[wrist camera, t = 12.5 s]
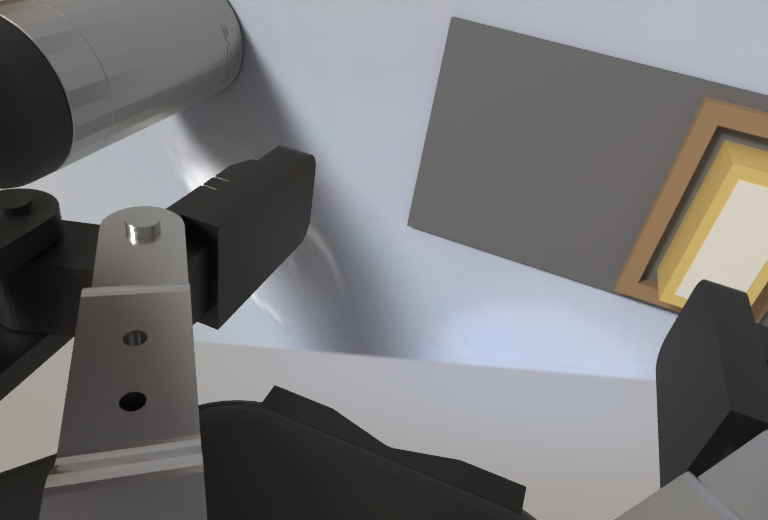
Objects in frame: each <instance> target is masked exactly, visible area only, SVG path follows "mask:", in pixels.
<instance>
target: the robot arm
mask: <svg viewBox="0 0 768 520" xmlns="http://www.w3.org/2000/svg"><path fill="white" fill-rule="evenodd" d="M242 56H243V42H242V35H241V31H240V27H239V23H238V21H237V18H236V16H235V14H234V11H233V10H232V8H231V6H230V5H229V3H228V2H227V0H2V1H0V188H1V189H7V188H15V187H20V186H24V185H26V184H29V183H31V182H34V181H36V180H38V179H40V178H42V177H44V176H46V175H48V174H50V173H52V172H54V171H57V170H59V169H61V168H63V167H65V166H67V165H69V164H71V163H74V162H76V161H78V160H80V159H82V158H84V157H86V156H88V155H90V154H92V153H94V152H96V151H98V150H100V149H102V148H104V147H107V146H109V145H111V144H113V143H115V142H117V141H119V140H121V139H123V138H125V137H127V136H130V135H132V134H134V133H136V132H138V131H140V130H142V129H144V128H146V127H148V126H150V125H153V124H155V123H157V122H159V121H161V120H163V119H165V118H167V117H169V116H171V115H174V114H176V113H178V112H180V111H182V110H184V109H186V108H188V107H190V106H193V105H195V104H197V103H199V102H201V101H203V100H205V99H207V98H209V97H211V96H213V95H215V94H217V93H219V92H221V91H223V90H225V89H226V88H227V87H228V86H230V85H231V84H232V83H233V81H234V80H235V78H236V76H237V75H238V73H239V70H240V67H241V64H242ZM315 167H316V164H315V158H314V156H313V155H310V154H307V153H304V152H301V151H298V150H294V149H291V148H288V147H285V146H278V147H276V148H275V149H273V150H272V151H271V152H269V153H268V154H266V155H265V156H263V157H262V158H261V159H259V160H258V161H256V160H253V159H252V160H248V161H245V162H241V163H238V164H234V165H231V166H229V167H228V168H226V169H225V170H223V171H222V172H220V173H219V174H217V175H216V177H215V178H214V177H213V178H211V179H210V180H208V181H207V182H205V183H204V185H203V186H199V187H198V188H196V189H195V190H193V191H192V192H190V193H189V194H187V195H186V196H184V197H183V198H182V199H180V200H179V201H177V202H176V203H174V204H173V205H171V206H170V207H168V208H167V209H163V208H158V207H151V206H140V207H131V208H126V209H122V210H119V211H116V212H114V213H112V214H110V215H109V216H107V217H106V218H105V219H104V220H103V221H102V223H101V224H100V225H97V224H89V223H81V222H74V221H66V220H62V219H61V214H60V208H59V203H58V201H57V199H56V198H55V197H54V196H52V195H50V194H49V193H46V192H43V191H39V190H34V189H7V190H1V191H0V401H1V400H2V399H3V398H4V397H5V396H6V395H8V393H10V392H11V391H12V390H13V389H14V388H15V387H17V386H18V385H19V384H20V383H21V382H22V381H24V380H25V379H26V378H27V377H28V376H29V375H30V374H32V373H33V372H34V371H35V370H36V369H37V368H38V367H40V366H41V365H42V364H43V363H44V362H45V361H46V360H47V359H49V358H50V357H51V356H52V355H53V354H54V353H56V352H57V351H58V350H59V349H60V348H61V347H62V346H64V345H65V344H66V343H67V342H68V341H69V340H70V339H72V338H73V337H75V338H74V345H73V351H72V358H71V364H70V371H69V378H68V384H67V391H66V398H65V404H64V411H63V418H62V424H61V431H60V437H59V444H58V451H57V453H56V454H54V455H51V456H48V457H45V458H42V459H39V460H36V461H33V462H31V463H28V464H25V465H22V466H19V467H16V468H13V469H10V470H7V471H4V472H2V473H0V520H536V519H535V518H534V517H533V516H532V515H530V514H529V513H527V512H526V511H524V510H523V509H522V507H523V501H524V496H525V491H526V487H525V486H523V485H520V484H518V483H515V482H513V481H510V480H508V479H505V478H503V477H501V476H498V475H496V474H493V473H491V472H488V471H486V470H483V469H481V468H478V467H476V466H473V465H471V464H468V463H466V462H463V461H461V460H456V459H451V458H445V457H439V456H433V455H428V454H423V453H417V452H411V451H406V450H400V449H395V448H391V447H389V446H386V445H385V444H383V443H381V442H380V441H378V440H377V439H376V438H374V437H373V436H371V435H370V434H369V433H367V432H366V431H364V430H363V429H361V428H360V427H358V426H357V425H355V424H354V423H353V422H351V421H350V420H348V419H347V418H345V417H344V416H342V415H341V414H339V413H338V412H337V411H335V410H334V409H332V408H330V407H327V406H325V405H322V404H320V403H317V402H315V401H312V400H310V399H308V398H305V397H302V396H300V395H297V394H295V393H293V392H290V391H288V390H285V389H283V388H280V387H278V386H274V387H273V388H272V390H271V391H270V393H269V394H268V395H267V397H266V398H265V399H264V401H263V402H256V401H243V400H234V401H233V400H232V401H220V402H211V403H206V404H202V405H198V395H197V380H196V366H195V352H194V338H193V325H194V324H195V323H196V322H200V323H202V324H205V325H207V326H210V327H212V328H215V329H217V330H218V329H219V328H220V327H221V326H222V325H223V324H224V323H225V322H226V321H227V320H228V319H229V318H230V317H231V316H232V315H233V314H234V313H235V312H236V310H237V309H238V308H239V307H240V306H241V305H242V304H243V303H244V302H245V301H246V300H247V299H248V298H249V297H250V296H251V295H252V294H253V293H254V292H255V291H256V290H257V289H258V288H259V287H260V285H261V284H262V283H263V282H264V281H265V280H266V279H267V278H268V277H269V276H270V275H271V274H272V273H273V272H274V271H275V270H276V269H277V268H278V267H279V266H280V265H281V264H282V263H283V261H284V260H285V259H286V258H287V257H288V256H289V255H290V254H291V253H292V252H293V251H294V250H295V249H296V248H297V247H298V246H299V245H300V243H301V242H302V240H303V239H304V237H305V235H306V232H307V230H308V226H309V222H310V216H311V206H312V197H313V187H314V177H315ZM656 388H657V413H658V434H659V435H658V437H659V460H660V461H659V463H660V488H661V489H659V490H658V491H657V492H655V493H654V494H652V495H650V496H649V497H648V498H646V499H645V500H643V501H642V502H640V503H639V504H637V505H636V506H634V507H633V508H631V509H630V510H628V511H627V512H625V513H624V514H622V515H621V516H619V517H618V518H616V519H615V520H768V327H767V326H764V325H761V324H758V323H755V319H754V315H753V312H752V308H751V305H750V301H749V297H748V295H747V293H746V292H744V291H740V290H737V289H734V288H731V287H728V286H724V285H721V284H718V283H715V282H712V281H709V280H705V279H703V280H701V281H700V282H699V283H698V284H697V285H696V287H695V288H694V290H693V291H692V293H691V295H690V296H689V298H688V300H687V302H686V303H685V305H684V307H683V309H682V310H681V312H680V314H679V315H678V317H677V319H676V321H675V322H674V324H673V326H672V328H671V329H670V331H669V333H668V335H667V336H666V338H665V340H664V342H663V344H662V346H661V349H660V352H659V355H658V359H657V364H656Z"/></svg>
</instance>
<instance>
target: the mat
mask: <svg viewBox="0 0 768 520" xmlns="http://www.w3.org/2000/svg"><path fill="white" fill-rule="evenodd" d="M725 140H727V141H731V142H734V143H738V144H742V145H746V146H749V147H753V148H757V149H760V150H764V151H768V95H764V94H760V93H756V92H752V91H748V90H744V89H740V88H736V87H732V86H728V85H724V84H720V83H716V82H712V81H708V80H704V79H700V78H696V77H692V76H688V75H684V74H680V73H676V72H672V71H668V70H664V69H660V68H656V67H652V66H648V65H644V64H640V63H636V62H632V61H628V60H624V59H620V58H616V57H612V56H608V55H604V54H600V53H596V52H592V51H588V50H584V49H580V48H576V47H572V46H568V45H564V44H560V43H556V42H552V41H548V40H544V39H540V38H536V37H532V36H528V35H524V34H520V33H516V32H512V31H508V30H504V29H500V28H496V27H492V26H488V25H484V24H480V23H476V22H472V21H468V20H464V19H460V18H456V17H452V18H451V22H450V27H449V31H448V36H447V41H446V45H445V50H444V55H443V59H442V64H441V69H440V74H439V78H438V83H437V88H436V92H435V97H434V102H433V106H432V111H431V116H430V120H429V125H428V130H427V135H426V139H425V144H424V149H423V153H422V158H421V163H420V167H419V172H418V177H417V181H416V186H415V191H414V196H413V200H412V205H411V210H410V214H409V219H408V224H407V225H408V226H411V227H414V228H417V229H420V230H423V231H426V232H429V233H432V234H435V235H438V236H441V237H444V238H447V239H450V240H453V241H456V242H459V243H463V244H466V245H469V246H472V247H475V248H478V249H481V250H484V251H487V252H490V253H493V254H496V255H499V256H502V257H505V258H508V259H511V260H514V261H517V262H520V263H523V264H526V265H530V266H533V267H536V268H539V269H542V270H545V271H548V272H551V273H554V274H557V275H560V276H563V277H566V278H569V279H572V280H575V281H578V282H581V283H584V284H587V285H590V286H594V287H597V288H600V289H603V290H606V291H609V292H612V293H615V294H618V295H621V296H624V297H627V298H630V299H633V300H636V301H639V302H642V303H645V304H648V305H651V306H654V307H657V308H661V309H664V310H667V311H670V312H673V313H676V314H680V312H681V310H682V309H683V308H681V307H678V306H675V305H672V304H669V303H666V302H663V301H660V300H659V295H658V276H657V269H658V267H659V265H660V263H661V261H662V259H663V257H664V255H665V253H666V252H667V250H668V248H669V246H670V244H671V242H672V240H673V238H674V236H675V234H676V232H677V231H678V229H679V227H680V225H681V223H682V221H683V219H684V217H685V215H686V213H687V211H688V209H689V208H690V206H691V204H692V202H693V200H694V198H695V196H696V194H697V192H698V190H699V188H700V186H701V185H702V183H703V181H704V179H705V177H706V175H707V173H708V171H709V169H710V167H711V165H712V164H713V162H714V160H715V158H716V156H717V154H718V152H719V150H720V148H721V146H722V144H723V142H724V141H725ZM751 308H752V312H753V315H754V319H755V323H758V324H761V325H764V326H767V327H768V282H767V283H766V285H765V286H764V288H763V289H762V291H761V292H760V294H759V295H758V297H757V298H756V300H755V301H754V303H753V304H752V306H751Z"/></svg>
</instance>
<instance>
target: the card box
mask: <svg viewBox="0 0 768 520" xmlns="http://www.w3.org/2000/svg"><path fill="white" fill-rule="evenodd" d="M657 276H658V295H659V300H660V301H663V302H666V303H669V304H672V305H675V306H678V307H681V308H683V307H684V305H685V303H686V302H687V300H688V298H689V296H690V295H691V293H692V291H693V290H694V288H695V287H696V285H697V284H698V283H699V282H700V281H701V280H703V279H705V280H709V281H712V282H715V283H718V284H721V285H724V286H728V287H731V288H734V289H737V290H740V291H744V292H746V293H747V295H748V297H749V301H750V305H751V306H752V304H753V303H754V301H755V300H756V298H757V297H758V295H759V294H760V292H761V291H762V289H763V288H764V286H765V285H766V283H767V282H768V151H764V150H760V149H757V148H753V147H749V146H746V145H742V144H738V143H734V142H731V141H727V140H725V141H724V142H723V144H722V146H721V148H720V150H719V152H718V154H717V156H716V158H715V160H714V162H713V164H712V165H711V167H710V169H709V171H708V173H707V175H706V177H705V179H704V181H703V183H702V185H701V186H700V188H699V190H698V192H697V194H696V196H695V198H694V200H693V202H692V204H691V206H690V208H689V209H688V211H687V213H686V215H685V217H684V219H683V221H682V223H681V225H680V227H679V229H678V231H677V232H676V234H675V236H674V238H673V240H672V242H671V244H670V246H669V248H668V250H667V252H666V253H665V255H664V257H663V259H662V261H661V263H660V265H659V267H658V269H657Z"/></svg>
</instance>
